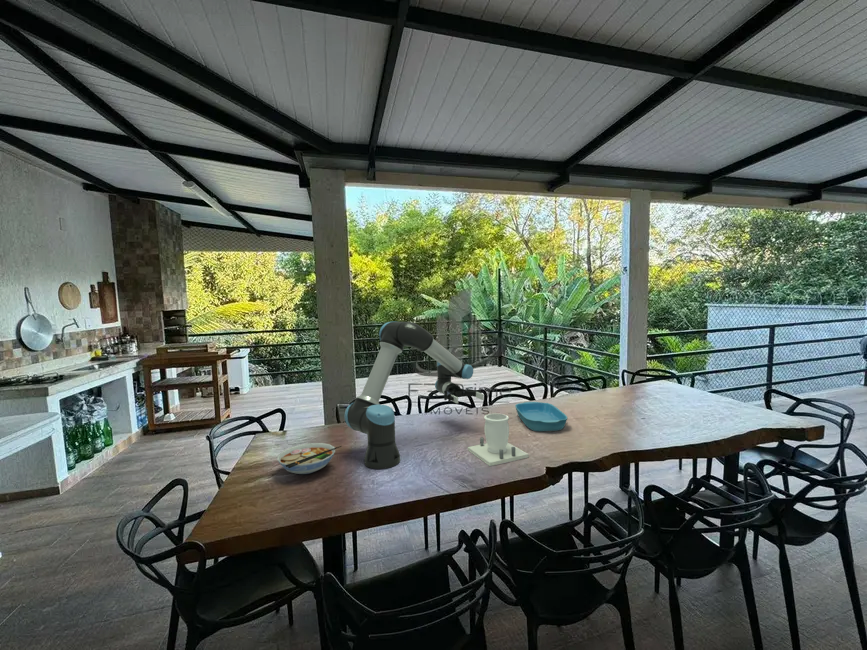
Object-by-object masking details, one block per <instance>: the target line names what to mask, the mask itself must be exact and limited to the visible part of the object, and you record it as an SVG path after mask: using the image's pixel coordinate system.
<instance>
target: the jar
mask: <svg viewBox="0 0 867 650" xmlns="http://www.w3.org/2000/svg"><path fill="white" fill-rule="evenodd" d="M483 419H484V420H485V422H484V428H483V429H484V430H483V431H484V436H485V441H486V442H485V443H487V445H488V448H487V450H488V451H489V452H491V453H495V454H499V450H500V449H502V450H503V453H505V452H506V451H507V448H506V446H507V443H509V442H508V441H509V436H510V426H509V420H510V419H509V416H508V415H507V414H503V413H489V414H485V415H484V417H483Z"/></svg>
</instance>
